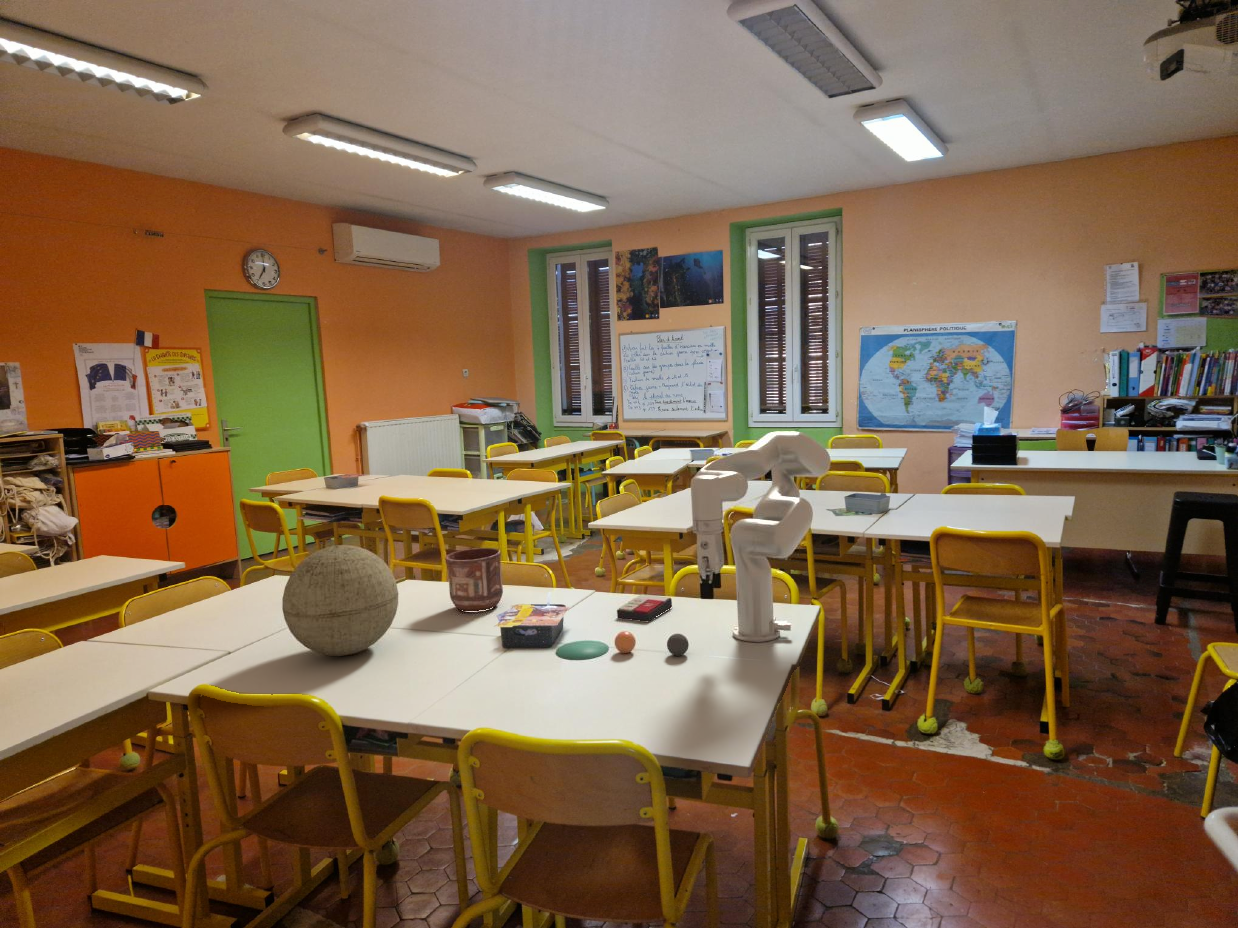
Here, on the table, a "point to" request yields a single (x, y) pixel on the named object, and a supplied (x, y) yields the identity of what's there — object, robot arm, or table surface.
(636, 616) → the calculator
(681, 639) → the ball
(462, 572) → the pottery
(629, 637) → the ball
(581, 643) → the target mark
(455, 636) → the table surface
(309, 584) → the celestial globe
